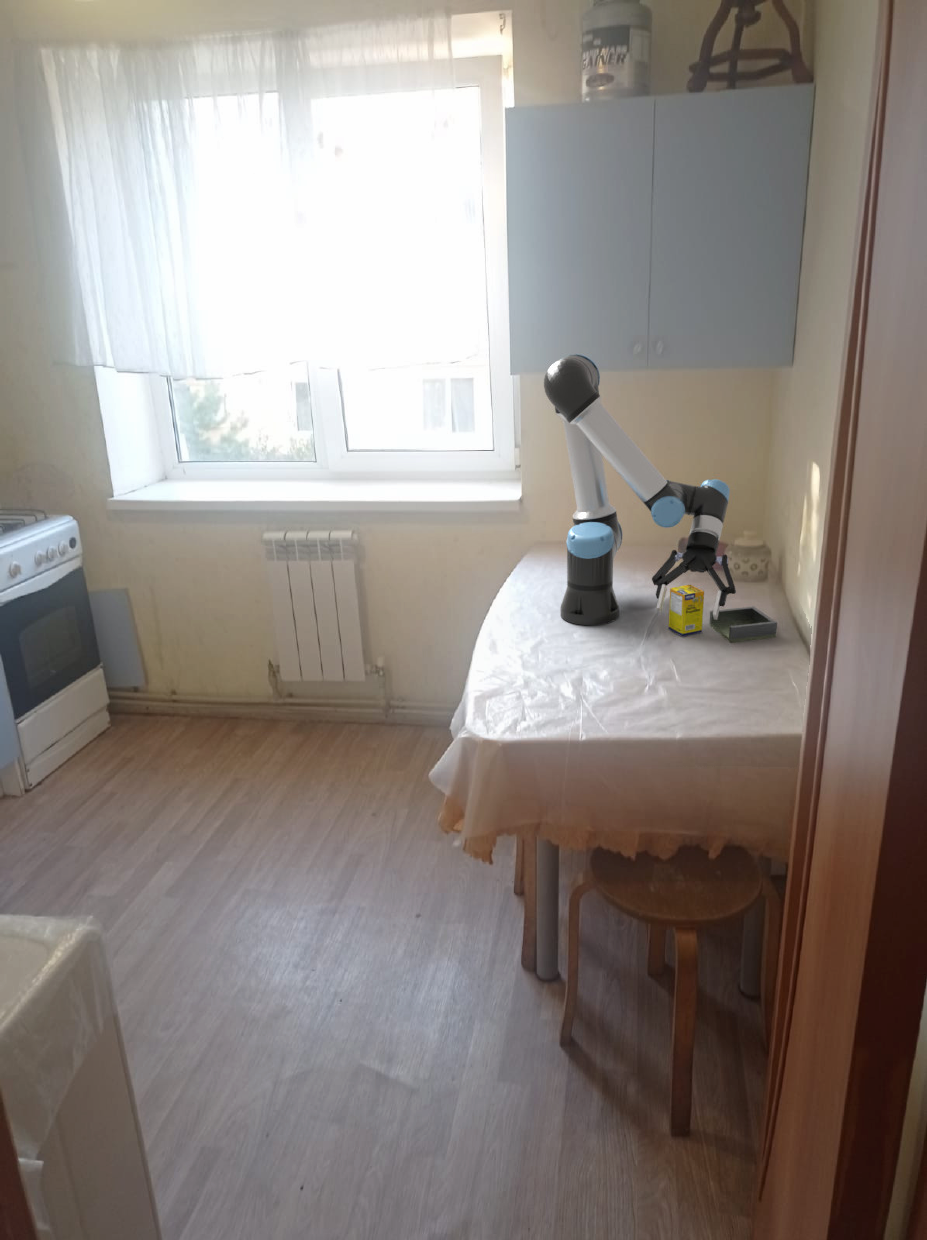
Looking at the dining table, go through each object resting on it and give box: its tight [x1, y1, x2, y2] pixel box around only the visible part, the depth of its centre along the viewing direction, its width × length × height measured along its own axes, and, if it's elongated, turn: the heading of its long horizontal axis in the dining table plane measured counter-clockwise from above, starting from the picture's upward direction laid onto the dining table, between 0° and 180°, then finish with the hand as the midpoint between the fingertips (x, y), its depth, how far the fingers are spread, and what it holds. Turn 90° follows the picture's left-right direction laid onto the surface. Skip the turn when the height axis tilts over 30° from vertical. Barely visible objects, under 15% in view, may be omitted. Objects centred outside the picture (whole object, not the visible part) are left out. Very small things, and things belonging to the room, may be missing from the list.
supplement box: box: [668, 584, 705, 637], centre depth 215 cm, size 6×6×11 cm
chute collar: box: [708, 606, 778, 644], centre depth 214 cm, size 12×12×4 cm
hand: (686, 613), depth 213 cm, fingers open, 13 cm apart
